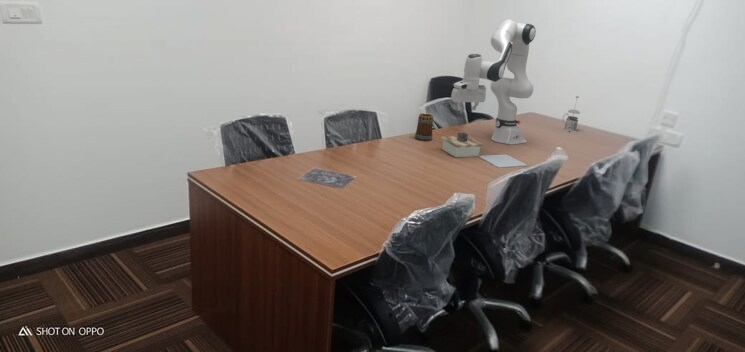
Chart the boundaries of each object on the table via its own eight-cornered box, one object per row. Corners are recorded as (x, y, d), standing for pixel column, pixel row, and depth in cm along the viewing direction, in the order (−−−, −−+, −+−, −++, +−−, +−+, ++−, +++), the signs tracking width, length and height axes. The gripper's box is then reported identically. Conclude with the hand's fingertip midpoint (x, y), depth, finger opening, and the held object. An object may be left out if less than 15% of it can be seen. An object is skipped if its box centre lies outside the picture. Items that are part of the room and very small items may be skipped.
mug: (431, 142, 300) (434, 117, 295) (413, 140, 302) (416, 115, 297) (433, 135, 314) (436, 112, 309) (416, 133, 316) (419, 110, 311)
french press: (579, 132, 354) (587, 97, 345) (563, 131, 353) (570, 96, 345) (574, 129, 363) (581, 95, 354) (558, 128, 363) (565, 93, 354)
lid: (466, 137, 293) (467, 129, 291) (482, 146, 278) (484, 137, 276) (441, 138, 286) (442, 130, 284) (456, 147, 272) (457, 138, 270)
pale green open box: (464, 148, 293) (465, 138, 291) (478, 156, 281) (480, 145, 278) (442, 149, 288) (443, 139, 286) (455, 157, 275) (457, 147, 273)
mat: (506, 155, 287) (506, 154, 286) (527, 166, 270) (527, 165, 270) (478, 156, 279) (478, 155, 279) (498, 168, 263) (498, 167, 263)
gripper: (483, 84, 278) (479, 108, 282) (451, 83, 270) (447, 108, 274) (489, 86, 272) (485, 111, 277) (457, 85, 264) (453, 111, 269)
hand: (466, 110), depth 276 cm, fingers open, 8 cm apart
